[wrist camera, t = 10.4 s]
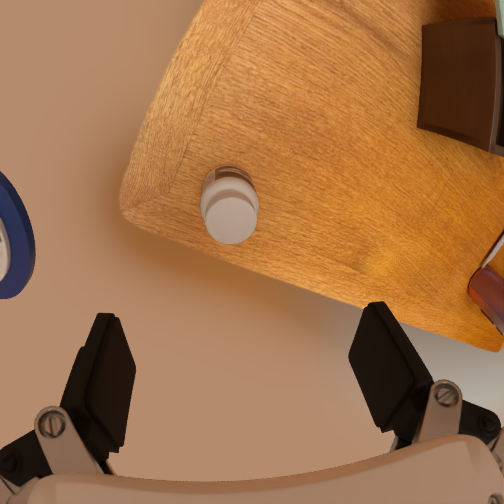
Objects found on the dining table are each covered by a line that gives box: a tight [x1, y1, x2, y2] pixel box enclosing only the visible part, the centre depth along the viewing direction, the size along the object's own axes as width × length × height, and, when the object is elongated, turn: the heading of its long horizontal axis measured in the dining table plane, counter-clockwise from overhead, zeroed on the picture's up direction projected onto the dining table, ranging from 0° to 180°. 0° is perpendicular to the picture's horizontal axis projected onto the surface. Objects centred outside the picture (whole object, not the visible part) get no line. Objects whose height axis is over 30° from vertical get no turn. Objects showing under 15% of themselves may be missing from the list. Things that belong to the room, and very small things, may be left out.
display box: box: [417, 17, 504, 157], centre depth 18 cm, size 15×12×10 cm
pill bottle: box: [200, 164, 259, 244], centre depth 23 cm, size 4×4×8 cm
